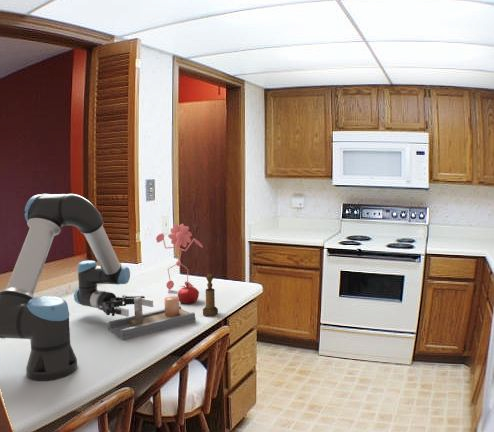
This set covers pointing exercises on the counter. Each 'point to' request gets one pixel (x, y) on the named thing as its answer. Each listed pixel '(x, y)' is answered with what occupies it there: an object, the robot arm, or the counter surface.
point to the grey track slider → (143, 320)
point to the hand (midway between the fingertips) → (140, 308)
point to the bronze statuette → (210, 299)
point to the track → (147, 324)
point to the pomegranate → (188, 294)
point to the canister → (171, 306)
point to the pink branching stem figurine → (178, 245)
